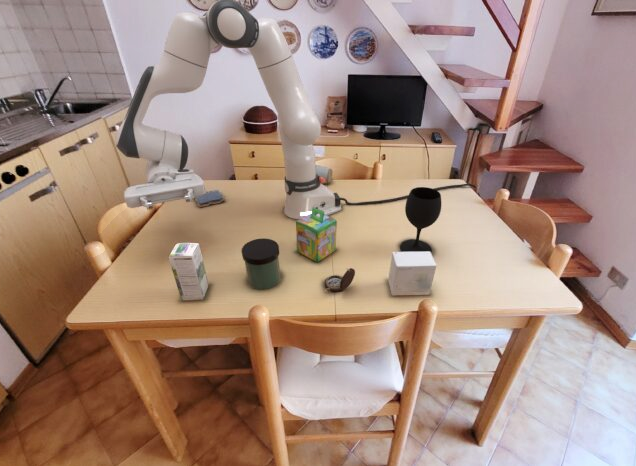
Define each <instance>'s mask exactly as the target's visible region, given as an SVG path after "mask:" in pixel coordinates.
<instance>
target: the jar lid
mask: <svg viewBox="0 0 636 466" xmlns="http://www.w3.org/2000/svg"><path fill="white" fill-rule="evenodd" d="M279 255H280V246H279V243H278V242H277V241H276V240H273V239H271V238H264V237H263V238H262V237H261V238H255V239H252V240H250V241H248V242H246V243H244V245H243V246H242V248H241V257H242V259H243V261H244V263H245V262H247V263H249V264H252V265H264V264H268V263H270V262H272V261H274V260H275V259H276V258H277V257H278V258H279Z"/></svg>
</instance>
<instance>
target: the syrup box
mask: <svg viewBox="0 0 636 466" xmlns="http://www.w3.org/2000/svg"><path fill="white" fill-rule="evenodd" d="M168 260H169V264H170V268H171V271H172V274H173V278H174V280H175V283H176V287H177V290H178V293H179V294H178V295H179V297H180V300H181V301H182V302H183V301H200V300H201V301H202V300H204V299H205V297H206V294H207V291H208V289H209V286H210V284H209V280H208V276H207V272H206V266H205V263H204V259H203V255H202V250H201V246H200V243H197V242H180V243H179V242H178V243H176V244H175V246H174V247H173V248H172V250H171V252H170V254H169V255H168Z"/></svg>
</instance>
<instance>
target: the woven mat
mask: <svg viewBox="0 0 636 466" xmlns="http://www.w3.org/2000/svg"><path fill="white" fill-rule="evenodd" d="M193 199H194V201H195V202H197V203H196V204H197V206H198V207H200V208H204V207H207V206H210V205H216V204H220V203H221V204H222V202H225V201H226V199H225V198H224V196H223V194H222V193H221V192H220V191H219V190H218V189H214V190H210V191H206V193H205V194H204V195H201V196H195V197H193Z"/></svg>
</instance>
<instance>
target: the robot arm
mask: <svg viewBox="0 0 636 466" xmlns="http://www.w3.org/2000/svg"><path fill="white" fill-rule="evenodd" d="M219 46H222V47H224V48H227V49H247V50H248V51H249V53H250V54H251V56H252V58H253V60H254V63H255V65H256V68H257V70H258V73H259V75H260V77H261V80H262V82H263V85H264V87H265V89H266V92H267V95H268V96H269V98H270V100H271V102H272V104H273V106H274V108H275V110H276V112H277V124H278V131H279V137H280V142H281V147H282V148H281V149H282V154H283V162H284V174H285V175H284V190H285V203H284V209H283V213H284V215H285V216H286V217H289V218H290V219H294V220H299V219H301V218H303V217H305V216H307V215H309V214H311V212H312V208H313V207H314V208H316V209H319V210H322V211H324V214H325V215H327V216H330V215H332V214H335V213H338V212H340V211H342V205H341V201H344V203H345V204H346V205H348V206H362V205H371V204H380V203H389V202H395V201H398V200H403V199H404V200H405V199H407V198H408V195H409V194H407V195H403V196H399V197H394V198H388V199H380V200H370V201H361V202H349V201H348V199H347V198H344V197H340V195H339V193H338V192H333V191H332V190H331V189H330V188H329V187H327V185H324V184H326V183H325V181H326V180H325V179H324V178H323V177H320V176H319V175H317V174H316V165H317V164H316V153H315V150H314V146H313V145H314V144H315V143H316V142H317V141H318V140H319V138H320V136H321V133H322V126H321V123H320V119H319V118H318V116H317V114H316V111H315V109H314V105H313V104H312V102H311V100H310V97H309V95H308V93H307V90H306V89H305V87H304V84H303V82H302V80H301V77H300V75H299V71H298V69H297V65H296V63H295V60H294V57H293V54H292V51H291V49H290V46H289V43H288V41H287V40H286V37H285V35H284V33H283V31H282V29H281V27H280V26H279V24H278V22H277V21H276V20H275V19H273V18H271V17H263V16H262V17H259V18H256V17H255V16H253V14H251V12H249V10H247V9H246V7H244V6H243V5H242V4H241V3H239V1H236V0H216V1H214V2H213V3H212V4H211V5H210V7H209V8H208V10H207V11H206V12H205V13H204V14H203V15H197V14H194V13H193V12H190V11H189V12H188V11H180V12H178V13H177V14H175V15H174V17H173V19H172V22H171V24H170V27H169V29H168V31H167V35H166V38H165V42H164V47H163V52H162V55H161V58H160V59H159V61H157V63H156V64H154V65H152V66H151V65H150V66H147V67H146V69H145V70H144V71H143V72H142V75H141V77H140V80H139V81H138V84H137V86H136V88H135V91H134V94H133V96H132V99H131V101H130V103H129V106H128V109H127V111H126V114H125V117H124V118H123V121H122V123H121V124H120V126H119V128H118V129H117V132H116V134H115V147H116V148H117V149H118V150H119V152H120V153H122V154H123V155H124V156H125V157H126V158H132V159H141V160H146V161H147V163H146V166H145V178H146V183H142V184H136V185H131V186H129V187H127V188H126V189H125V190H124V191H123V198H124V202H125V204H126V206H127V207H128V208H130V209H135V208H140V207H143V208H146V210H147V211H148V210H153V209H154V205H157V204H162V203H166V202H167V203H168V202H173V201H178V200H185V202H186V203H189V202H190V203H191V202H192V201H193V200H192V199H194V197H195V196H201V195H204V194H205V193H206V192H207V190H206V185H205V182H204V180H203V179H202V178H201V177H200V176H199V175H198V174H196V173H195V170H194V169H191V168H186V165H187V162H188V159H189V146H188V143H187V141H186V139H185V138H184V137H183V136H182V134H180V133H176V132H173V131H168V130H164V129H160V128H156V127H152V126H149V125H145V124H144V123H143V121H144V118H145V116H146V114H147V111H148V109H149V107H150V104H151V102H152V101H153V99H154V98H156V97H157V96H160V95H165V94H167V95H168V94H187V93H190V92H194V91H196V90H198V89H199V88H200V87H201V86H202V85H203V83H204V80H205V77H206V74H207V69H208V65H209V61H210V57H211V55H212V52H213V50H214V49H215V48H216V47H219ZM320 182H321V183H320ZM462 187H472V188H473V189H476V188H477V186H476V185H475V184H473V183H462V184H452V185H446V186H440V187H439V186H438V187H435V188H433V189H435V190H437V191H438V190H445V189H450V188H462Z"/></svg>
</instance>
